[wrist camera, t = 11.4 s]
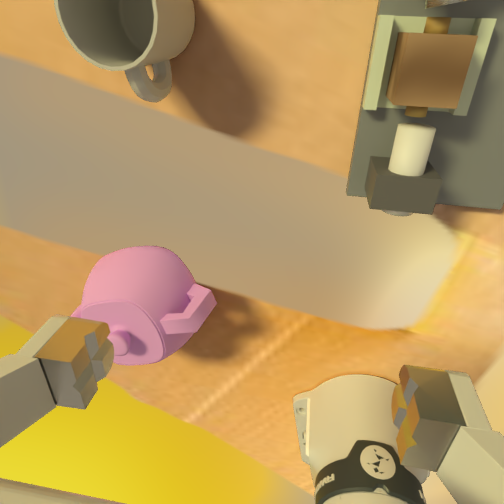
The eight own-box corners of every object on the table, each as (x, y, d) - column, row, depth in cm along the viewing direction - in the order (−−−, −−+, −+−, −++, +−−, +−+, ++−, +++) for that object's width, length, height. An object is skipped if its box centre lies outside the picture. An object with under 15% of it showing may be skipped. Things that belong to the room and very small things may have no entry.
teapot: (62, 253, 48) (-3, 308, 39) (206, 225, 42) (172, 282, 33) (108, 332, 54) (63, 396, 45) (240, 316, 48) (219, 386, 39)
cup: (184, -49, 30) (136, -74, 22) (213, 86, 35) (182, 103, 27) (104, -27, 32) (34, -43, 24) (142, 99, 36) (94, 118, 29)
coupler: (401, 16, 29) (412, 15, 25) (462, 18, 28) (483, 17, 24) (383, 108, 32) (390, 119, 28) (437, 111, 32) (452, 123, 28)
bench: (495, 204, 36) (525, 234, 31) (346, 190, 38) (349, 217, 32) (625, -121, 24) (708, -161, 19) (399, -119, 26) (417, -156, 21)
